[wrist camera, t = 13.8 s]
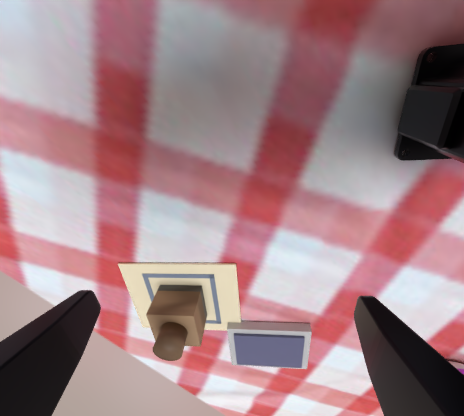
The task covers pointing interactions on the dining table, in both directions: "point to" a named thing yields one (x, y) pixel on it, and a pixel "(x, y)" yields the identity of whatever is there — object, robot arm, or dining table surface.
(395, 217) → the dining table surface
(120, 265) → the sheet
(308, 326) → the ink pad
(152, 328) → the stamp
